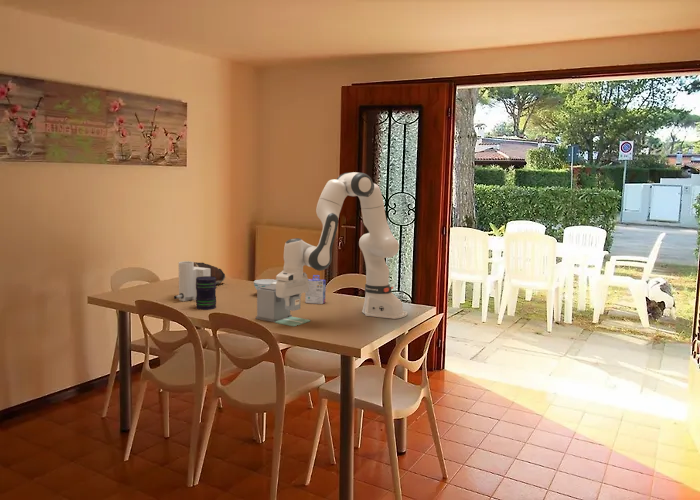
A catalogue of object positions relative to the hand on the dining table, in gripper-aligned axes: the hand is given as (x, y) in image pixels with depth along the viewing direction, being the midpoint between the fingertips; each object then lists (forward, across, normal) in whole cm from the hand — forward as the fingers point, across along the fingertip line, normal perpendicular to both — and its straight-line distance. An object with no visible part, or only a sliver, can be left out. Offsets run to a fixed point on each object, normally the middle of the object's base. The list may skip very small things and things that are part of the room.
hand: (292, 304), depth 271 cm
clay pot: (+8, -38, -93) cm, 101 cm away
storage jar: (+9, +3, -52) cm, 53 cm away
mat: (+8, 0, 0) cm, 8 cm away
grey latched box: (+8, -1, -12) cm, 15 cm away
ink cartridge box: (+8, -40, -16) cm, 44 cm away
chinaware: (+8, -39, -48) cm, 62 cm away
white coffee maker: (+9, -4, -73) cm, 74 cm away
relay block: (+2, 0, 0) cm, 2 cm away
